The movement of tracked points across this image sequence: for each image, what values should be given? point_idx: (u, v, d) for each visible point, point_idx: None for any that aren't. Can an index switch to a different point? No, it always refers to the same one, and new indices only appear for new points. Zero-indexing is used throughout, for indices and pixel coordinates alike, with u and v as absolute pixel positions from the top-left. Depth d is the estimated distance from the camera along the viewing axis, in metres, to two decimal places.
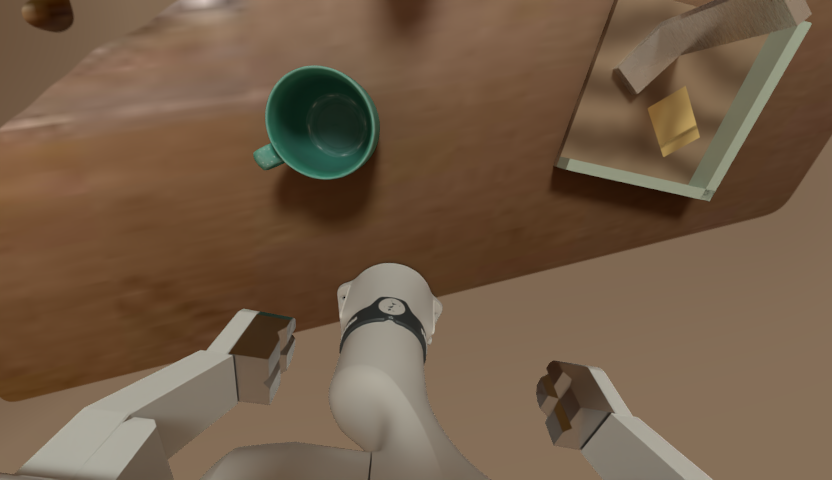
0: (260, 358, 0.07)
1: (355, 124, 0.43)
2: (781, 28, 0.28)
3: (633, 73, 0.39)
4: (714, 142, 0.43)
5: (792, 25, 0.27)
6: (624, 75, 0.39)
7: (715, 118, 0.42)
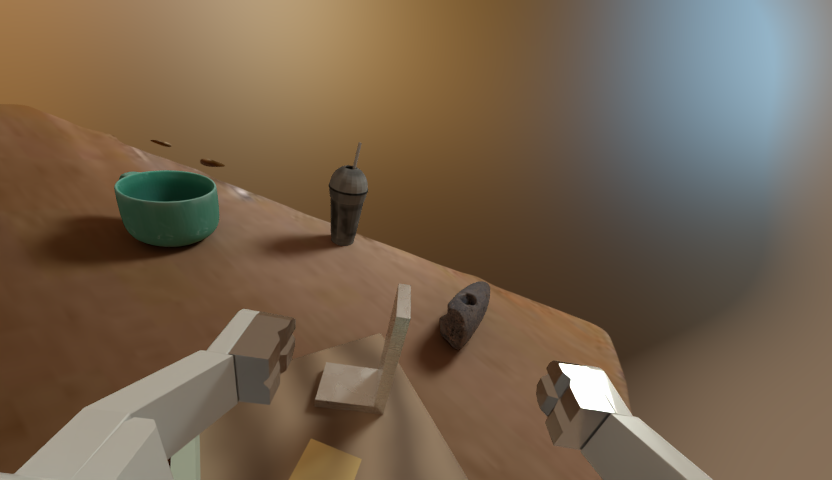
0: (260, 358, 0.07)
1: None
2: (393, 325, 0.26)
3: (330, 378, 0.33)
4: None
5: (395, 318, 0.25)
6: (323, 372, 0.33)
7: None
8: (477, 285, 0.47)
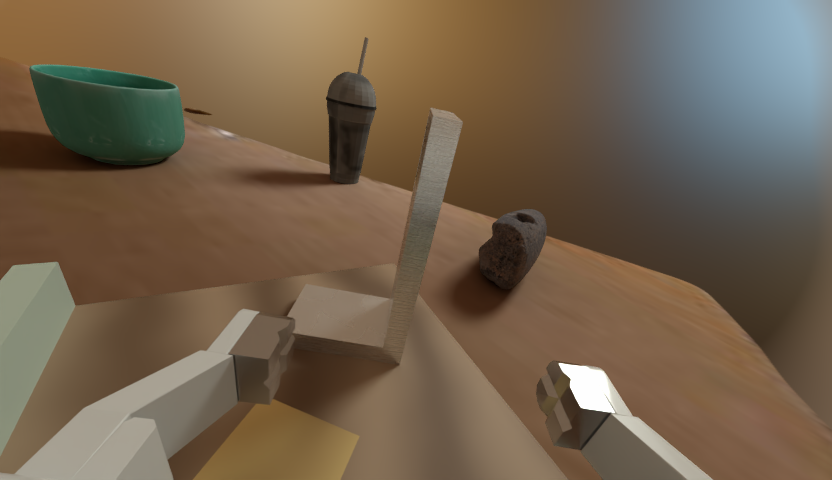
0: (260, 358, 0.07)
1: None
2: (426, 145, 0.12)
3: (309, 304, 0.19)
4: None
5: (431, 124, 0.12)
6: (299, 297, 0.20)
7: None
8: (529, 209, 0.33)
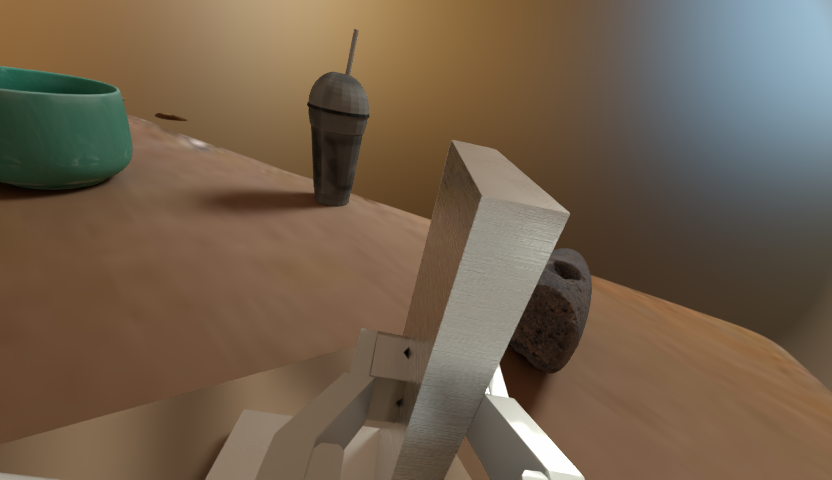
0: (400, 379, 0.07)
1: None
2: (455, 266, 0.05)
3: (241, 462, 0.11)
4: None
5: (473, 215, 0.04)
6: (227, 443, 0.12)
7: None
8: (567, 251, 0.25)
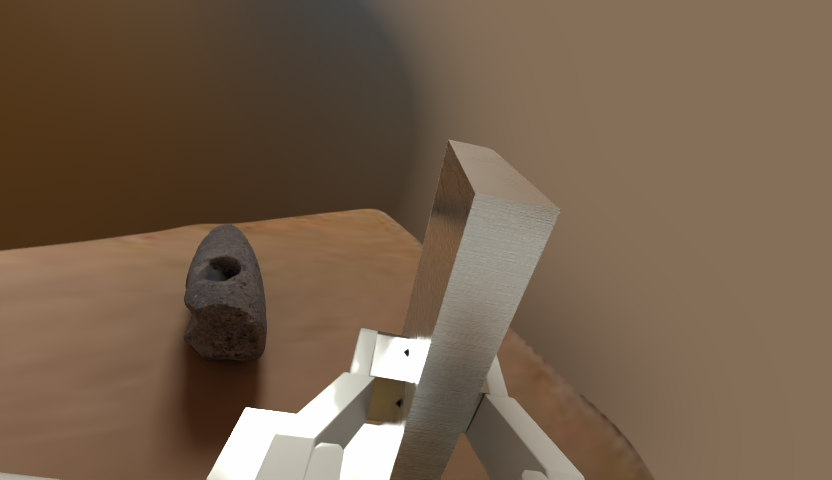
0: (400, 379, 0.07)
1: None
2: (451, 262, 0.05)
3: (243, 459, 0.12)
4: None
5: (467, 212, 0.04)
6: (229, 440, 0.12)
7: None
8: (218, 236, 0.25)
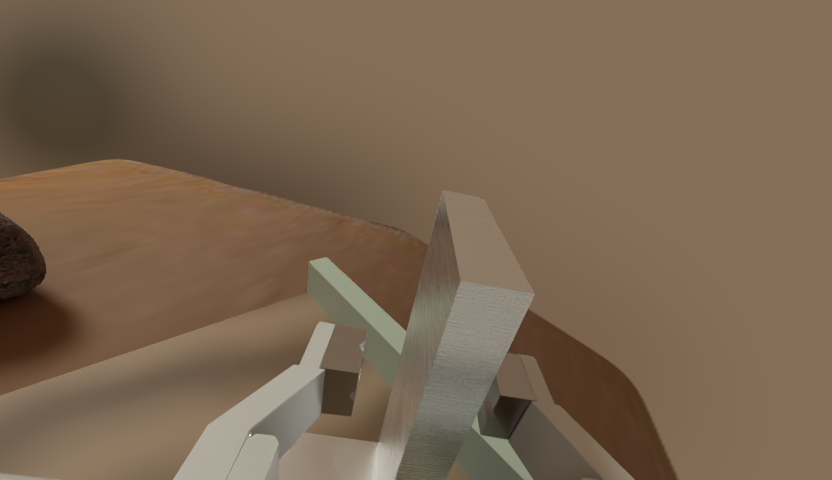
0: (351, 372, 0.07)
1: None
2: (441, 330, 0.05)
3: None
4: None
5: (454, 292, 0.05)
6: None
7: (382, 406, 0.17)
8: None
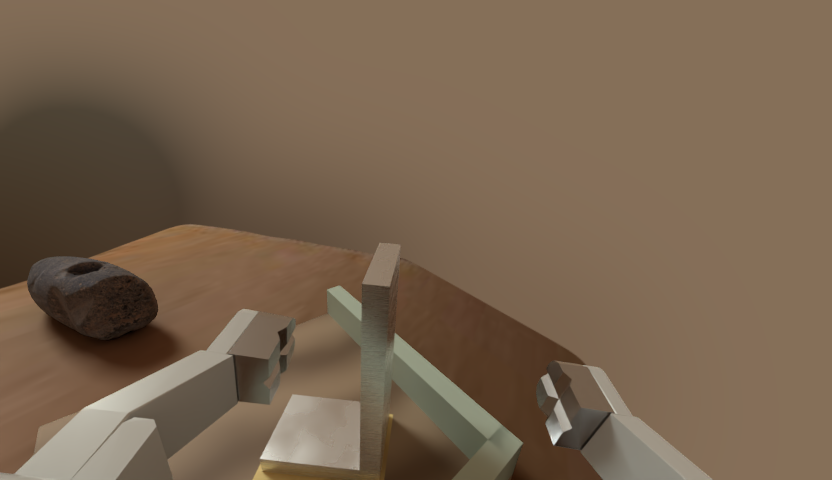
0: (260, 358, 0.07)
1: None
2: (362, 305, 0.13)
3: (293, 420, 0.20)
4: (415, 397, 0.23)
5: None
6: (284, 411, 0.21)
7: None
8: (52, 260, 0.28)
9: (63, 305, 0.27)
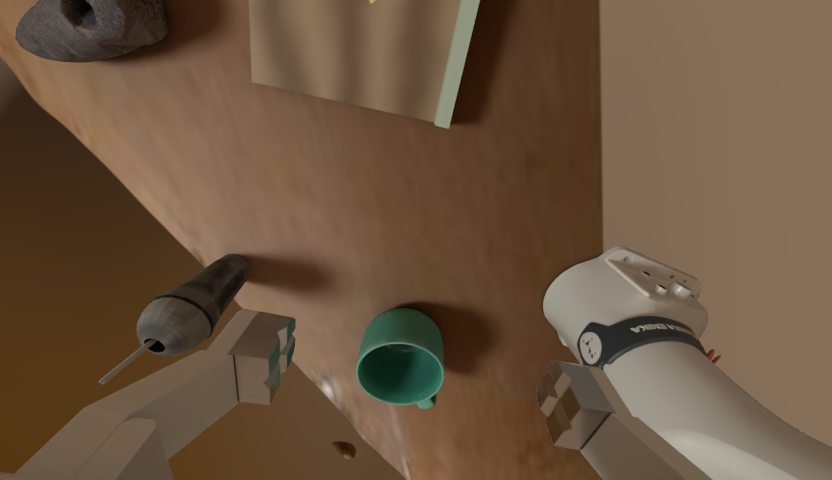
0: (260, 358, 0.07)
1: None
2: None
3: None
4: None
5: None
6: None
7: None
8: (41, 32, 0.27)
9: (118, 43, 0.29)
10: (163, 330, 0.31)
